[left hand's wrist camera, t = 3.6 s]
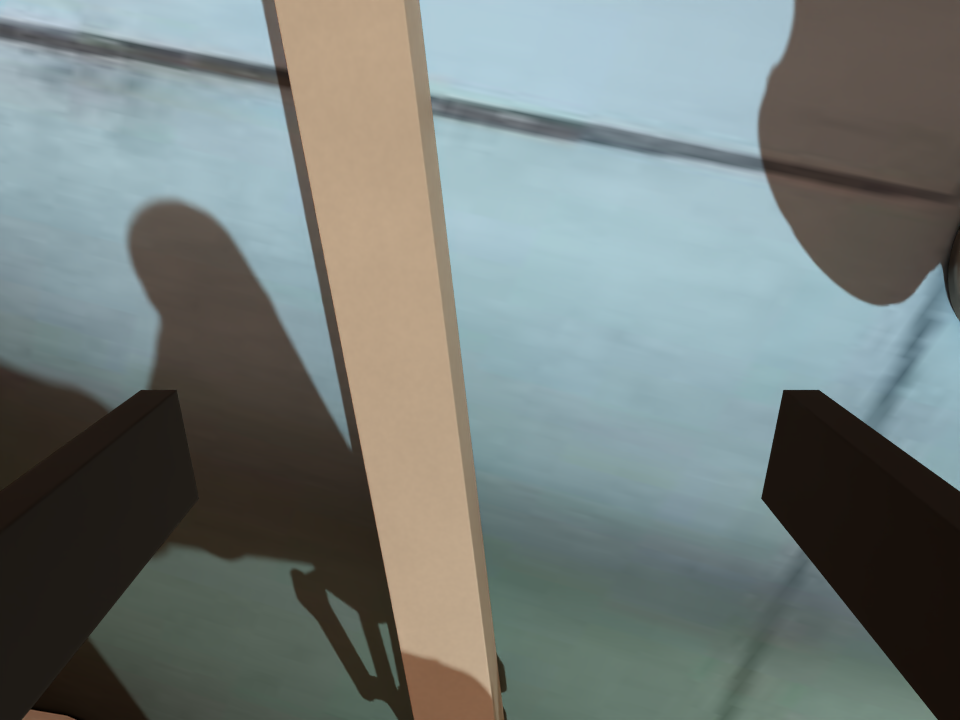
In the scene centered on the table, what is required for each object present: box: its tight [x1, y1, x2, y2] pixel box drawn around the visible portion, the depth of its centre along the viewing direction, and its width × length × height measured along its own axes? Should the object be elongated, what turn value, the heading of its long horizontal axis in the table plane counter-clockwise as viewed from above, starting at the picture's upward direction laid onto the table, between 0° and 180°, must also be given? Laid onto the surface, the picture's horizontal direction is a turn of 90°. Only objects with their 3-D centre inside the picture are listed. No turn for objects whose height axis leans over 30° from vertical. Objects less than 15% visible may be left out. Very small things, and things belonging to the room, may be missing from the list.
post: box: [274, 0, 504, 720], centre depth 40 cm, size 76×6×8 cm, turn 6°
